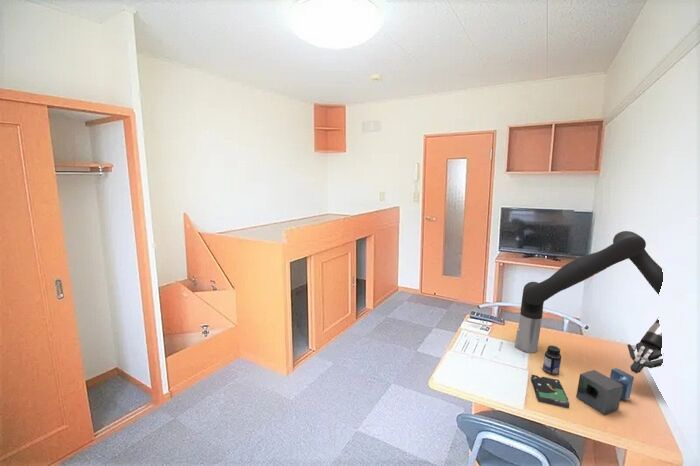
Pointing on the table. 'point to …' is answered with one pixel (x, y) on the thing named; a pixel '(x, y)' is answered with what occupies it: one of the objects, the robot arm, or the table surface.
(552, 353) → the pill bottle
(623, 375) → the silver metal piece
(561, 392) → the disk drive
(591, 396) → the bearing block
